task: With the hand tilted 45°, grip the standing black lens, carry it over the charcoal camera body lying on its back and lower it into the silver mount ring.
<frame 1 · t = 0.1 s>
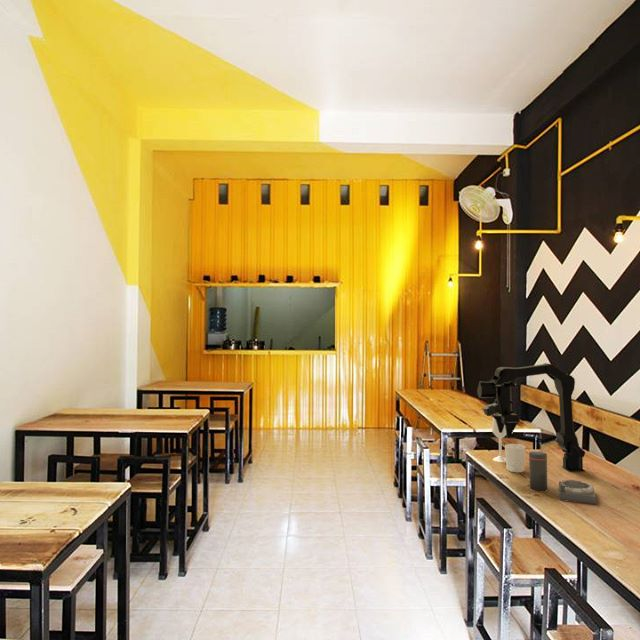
hand: (504, 435, 206), 15 cm above the table, tool pointing down, fingers open, 9 cm apart
lens: (538, 488, 183), on the table
camera body: (576, 496, 175), on the table
white cup: (515, 470, 206), on the table
champagne flute: (500, 460, 221), on the table
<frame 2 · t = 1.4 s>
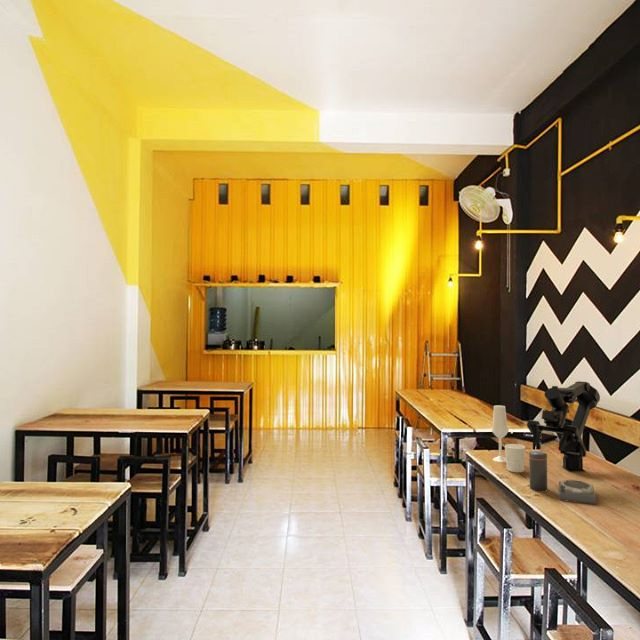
hand: (546, 447, 189), 14 cm above the table, tool tilted 45°, fingers open, 9 cm apart
nothing on the table moved.
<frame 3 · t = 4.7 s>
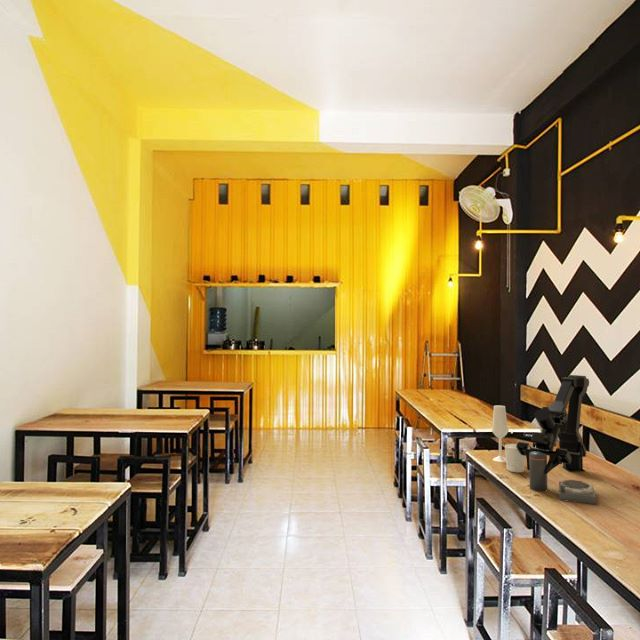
hand: (536, 471, 182), 7 cm above the table, tool tilted 45°, fingers closed on lens, 6 cm apart
lens: (538, 488, 183), on the table, touching gripper
everything else where it was.
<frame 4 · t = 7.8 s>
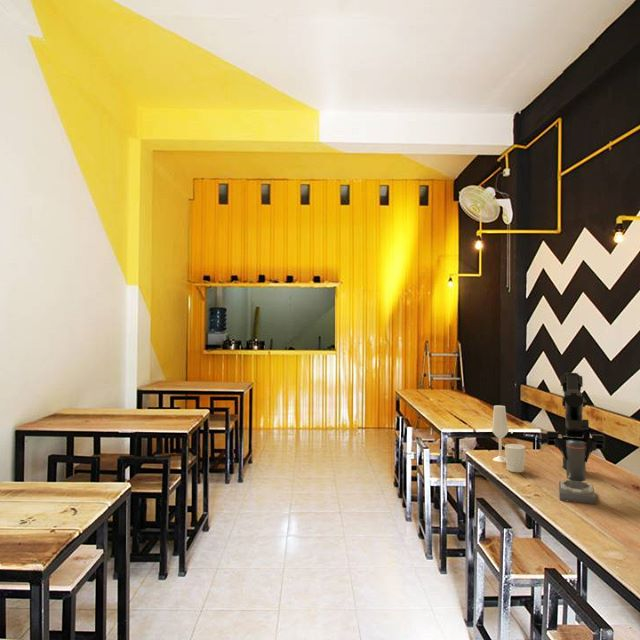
hand: (576, 460, 174), 13 cm above the table, tool tilted 45°, fingers closed on lens, 6 cm apart
lens: (576, 478, 175), point 6 cm above the table, touching gripper
everything else where it was.
when the fingers open (10 cm above the table, at t = 9.5 s): lens stays where it is, resting on camera body.
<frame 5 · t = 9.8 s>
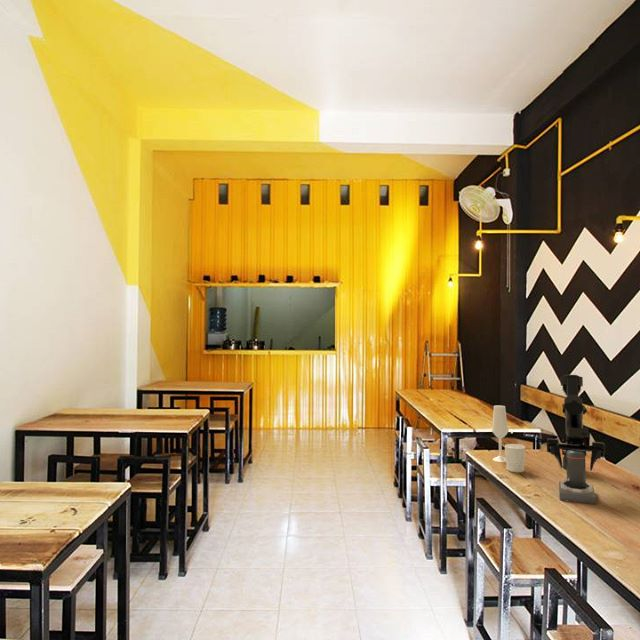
hand: (576, 468, 174), 10 cm above the table, tool tilted 45°, fingers open, 9 cm apart
lens: (576, 488, 175), point 3 cm above the table, touching camera body
everything else where it was.
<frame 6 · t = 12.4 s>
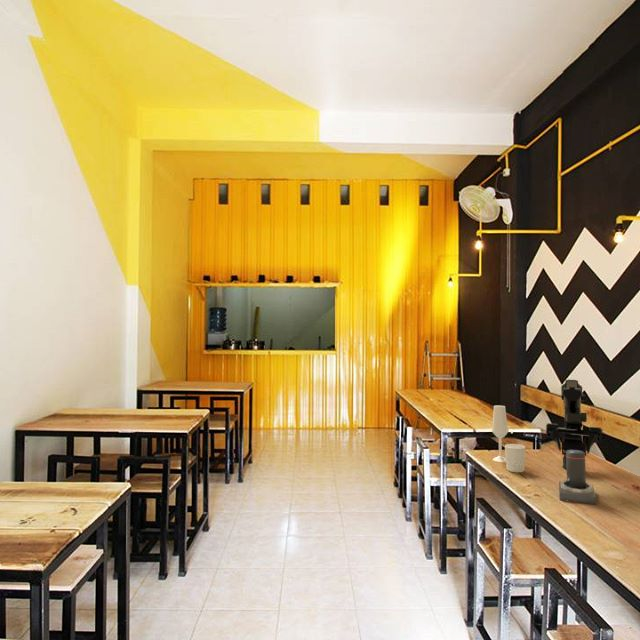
hand: (573, 451, 183), 14 cm above the table, tool tilted 45°, fingers open, 9 cm apart
nothing on the table moved.
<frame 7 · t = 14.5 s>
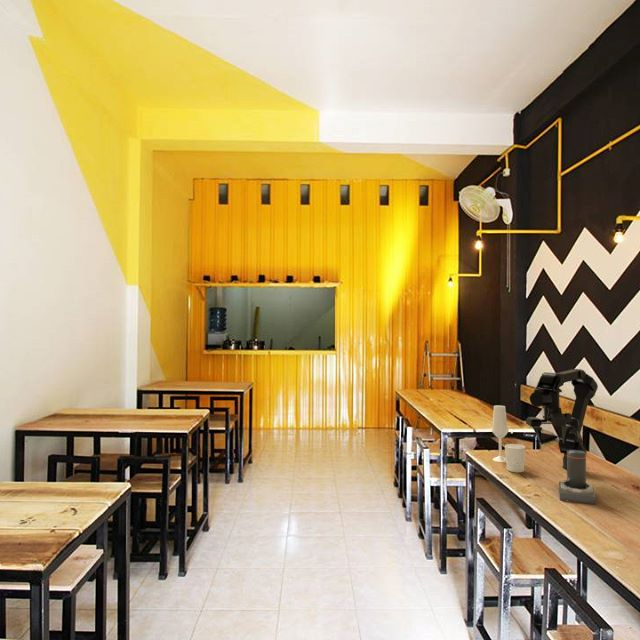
hand: (552, 443, 198), 13 cm above the table, tool pointing down, fingers open, 9 cm apart
nothing on the table moved.
at the end: lens 0.1 cm off-centre on the camera body, point 2.5 cm above the camera body's base; lens tilted 1°; the gripper is holding nothing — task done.
